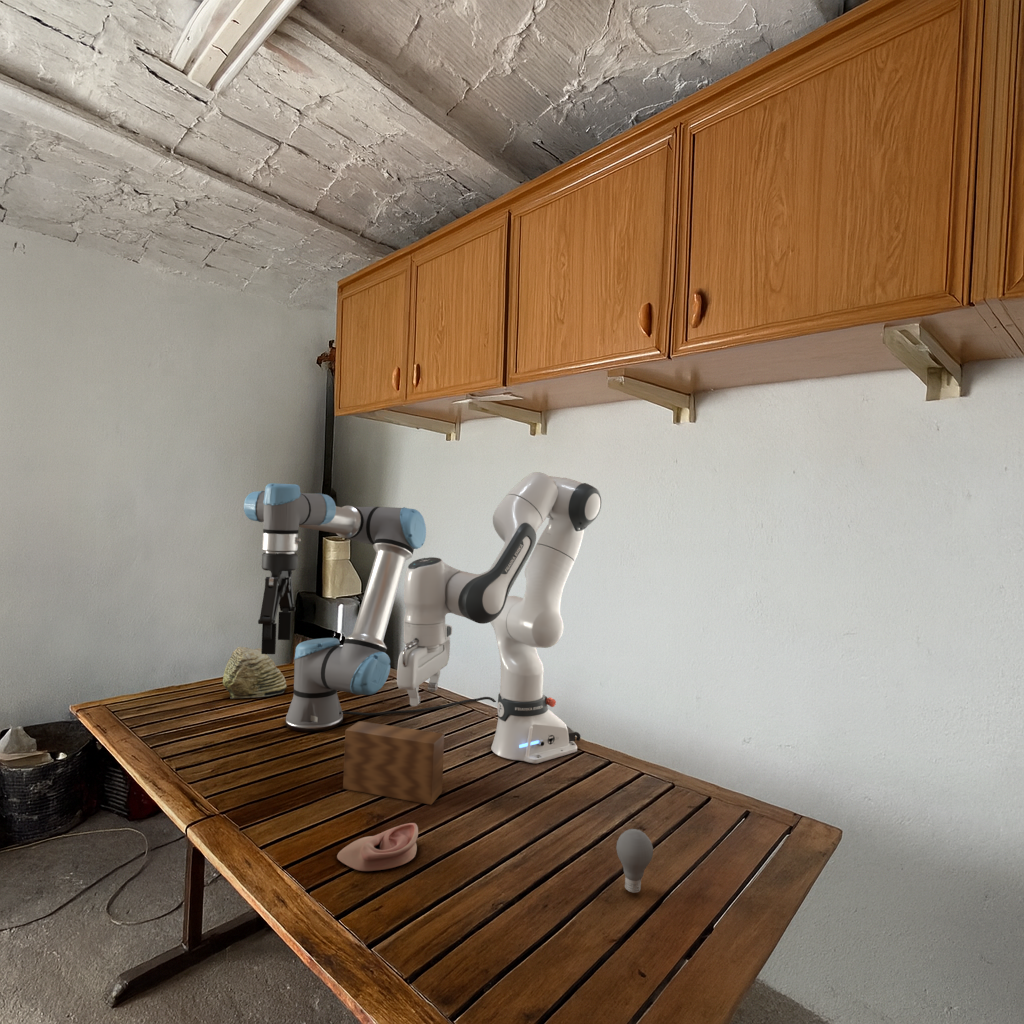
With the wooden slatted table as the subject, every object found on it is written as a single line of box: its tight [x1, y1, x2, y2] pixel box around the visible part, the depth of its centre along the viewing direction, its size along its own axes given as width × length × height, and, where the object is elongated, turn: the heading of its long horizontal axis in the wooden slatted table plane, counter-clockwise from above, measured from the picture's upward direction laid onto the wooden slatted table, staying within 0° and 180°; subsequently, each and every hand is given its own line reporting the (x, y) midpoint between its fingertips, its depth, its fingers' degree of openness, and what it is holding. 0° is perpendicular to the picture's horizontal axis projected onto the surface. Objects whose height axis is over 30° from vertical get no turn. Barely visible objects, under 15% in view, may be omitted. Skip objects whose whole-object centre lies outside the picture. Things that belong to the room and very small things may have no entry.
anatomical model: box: [336, 822, 419, 872], centre depth 113 cm, size 13×4×12 cm
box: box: [342, 720, 445, 806], centre depth 138 cm, size 21×6×13 cm, turn 75°
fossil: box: [222, 646, 288, 699], centre depth 198 cm, size 9×18×15 cm, turn 132°
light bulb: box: [615, 828, 654, 894], centre depth 106 cm, size 6×6×10 cm
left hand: (276, 646), depth 142 cm, fingers open, 13 cm apart
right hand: (424, 697), depth 136 cm, fingers open, 8 cm apart
